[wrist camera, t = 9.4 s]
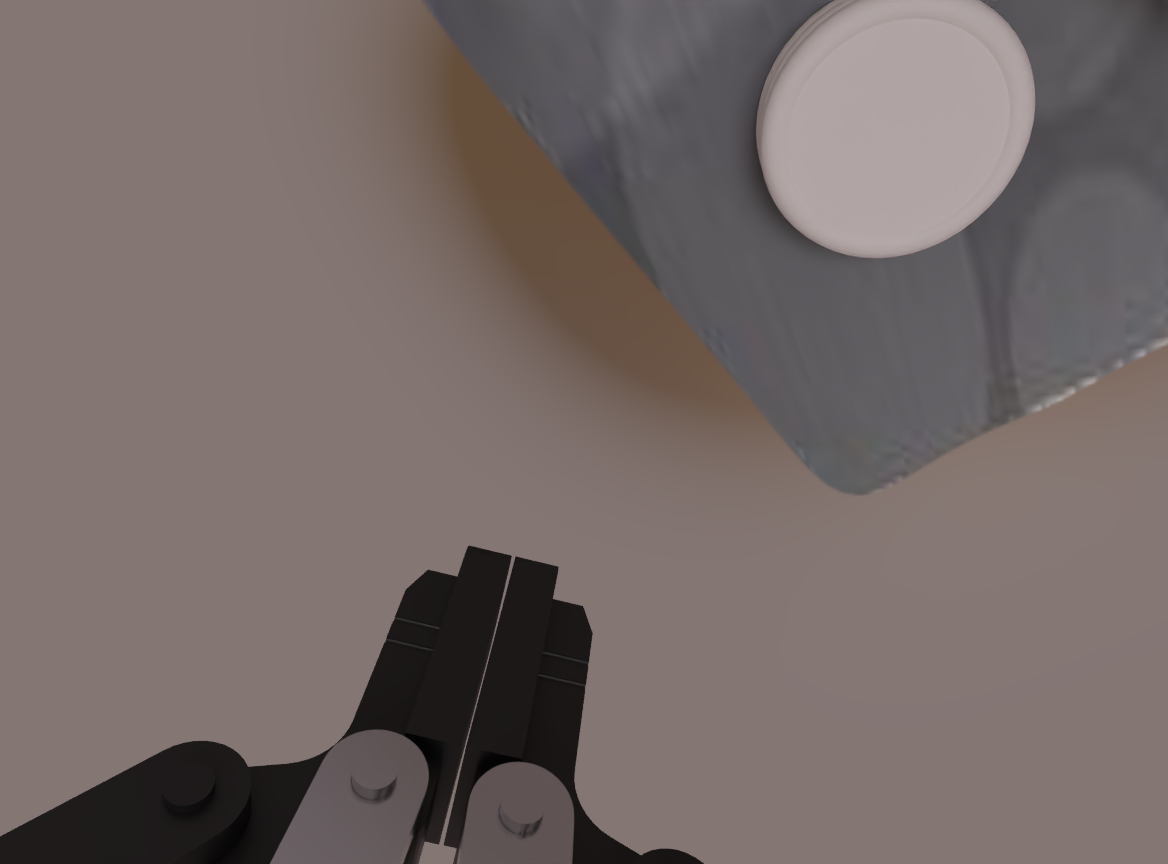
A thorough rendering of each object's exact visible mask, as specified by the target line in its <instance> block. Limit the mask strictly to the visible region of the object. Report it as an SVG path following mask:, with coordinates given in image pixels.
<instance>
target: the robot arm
mask: <svg viewBox="0 0 1168 864" xmlns="http://www.w3.org/2000/svg"><path fill="white" fill-rule="evenodd" d="M511 557H512V556H510V555H506V554H502V553H498V552H493V551H489V550H485V549H481V548H477V547H473V546H468V548H467V550H466V553H465V557H464V559H463V562H462V565H461V568H460V571H459V574H458V577H457V576H452V575H448V574H444V573H440V572H436V571H431V570H427V571H426V572H425V573H424V574H423V575H422V576H421V577H419V578H418V579H417V580H416V581H415V582H414V583H413V584H412V585H411V586H409V587H408V588H407V589H406V591H405V593H404V596H403V598H402V601H401V603H400V606H399V608H398V611H397V613H396V616H395V619H394V621H393V623H392V625H391V628H390V630H389V633H388V635H387V639H386V642H385V643H384V645H383V648H382V650H381V653H380V655H379V658H378V660H377V663H376V665H375V667H374V670H373V672H372V675H371V677H370V680H369V682H368V685H367V687H366V690H365V692H364V695H363V697H362V700H361V702H360V705H359V707H358V710H357V712H356V715H355V717H354V720H353V722H352V724H351V726H350V728H349V729H348V731H347V732H346V734H345V735H344V736H343V737H342V738H341V739H340V740H339V741H338V742H337V743H336V744H335V745H334V746H332V747H331V748H330V749H329V750H327V751H325V752H323V753H322V754H320V755H318V756H316V757H313V758H311V759H308V760H304V761H301V762H296V763H289V764H280V765H279V764H278V765H266V766H254V767H248V766H247V764H246V762H245V760H244V759H243V758H242V757H241V756H240V755H239V754H238V753H237V752H236V751H234V750H233V749H231V748H230V747H227V746H226V745H223V744H219V743H216V742H210V741H192V742H187V743H182V744H179V745H175V746H172V747H171V748H168V749H166V750H164V751H162V752H160V753H158V754H156V755H154V756H152V757H150V758H148V759H146V760H145V761H143V762H141V763H139V764H137V765H135V766H133V767H131V768H129V769H127V770H126V771H124V772H122V773H120V774H118V775H116V776H114V777H112V778H110V779H108V780H107V781H105V782H103V783H101V784H99V785H97V786H95V787H93V788H91V789H90V790H88V791H86V792H84V793H82V794H80V795H78V796H76V797H74V798H72V799H70V800H69V801H67V802H65V803H63V804H61V805H59V806H57V807H55V808H54V809H52V810H50V811H48V812H46V813H44V814H42V815H40V816H38V817H36V818H34V819H33V820H31V821H29V822H27V823H25V824H23V825H21V826H19V827H18V828H15V829H14V830H12V831H10V832H8V833H6V834H4V835H2V836H0V864H418V863H419V860H420V856H421V852H422V849H423V845H424V842H425V841H426V842H430V843H434V844H439V842H440V838H441V835H442V831H443V827H444V823H445V819H446V815H447V812H448V808H449V804H450V800H451V796H452V793H453V789H454V785H455V781H456V777H457V773H458V769H459V766H460V762H461V758H462V754H463V751H464V747H465V743H466V739H467V735H468V732H469V728H470V724H471V720H472V716H473V712H474V708H475V705H476V701H477V697H478V693H479V689H480V686H481V682H482V678H483V674H484V670H485V667H486V663H487V659H488V655H489V651H490V647H491V643H492V639H493V635H494V631H495V627H496V623H497V618H498V614H499V609H500V605H501V601H502V597H503V592H504V588H505V583H506V579H507V575H508V571H509V566H510V562H511ZM557 574H558V567H557V566H553V565H549V564H545V563H540V562H536V561H532V560H528V559H524V558H520V557H516V558H515V561H514V565H513V569H512V572H511V576H510V580H509V584H508V588H507V592H506V596H505V599H504V603H503V607H502V611H501V615H500V618H499V622H498V626H497V630H496V634H495V638H494V642H493V645H492V649H491V653H490V657H489V661H488V665H487V668H486V672H485V676H484V680H483V684H482V688H481V692H480V695H479V699H478V703H477V708H476V711H475V715H474V719H473V722H472V726H471V730H470V734H469V738H468V742H467V745H466V750H465V754H464V759H463V763H462V767H461V772H460V776H459V780H458V785H457V790H456V794H455V798H454V803H453V807H452V811H451V816H450V820H449V824H448V829H447V833H446V837H445V842H444V845H445V846H450V847H454V848H457V850H456V854H455V858H454V862H453V864H704V863H702V862H701V861H699V860H698V859H697V858H695V857H693V856H691V855H689V854H687V853H685V852H682V851H679V850H674V849H657V850H652V851H649V852H647V853H644V854H643V855H639V854H638V853H636V852H634V851H633V850H631V849H629V848H628V847H626V846H624V845H623V844H621V843H619V842H618V841H616V840H614V839H613V838H611V837H610V836H608V835H607V834H605V833H604V832H602V831H601V830H600V829H599V828H598V827H597V826H596V825H595V824H594V823H593V822H592V821H591V820H590V819H589V817H588V816H587V815H586V813H585V811H584V810H583V808H582V806H581V804H580V802H579V800H578V797H577V793H576V790H575V783H574V773H575V764H576V756H577V749H578V741H579V733H580V725H581V718H582V710H583V703H584V695H585V685H586V679H587V672H588V663H589V656H590V648H591V641H592V634H593V633H592V631H591V628H590V625H589V622H588V619H587V616H586V613H585V611H584V608H583V606H580V605H576V604H571V603H567V602H563V601H559V600H555V599H553V595H554V589H555V584H556V579H557Z"/></svg>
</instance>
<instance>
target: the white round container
mask: <svg viewBox="0 0 1168 864" xmlns="http://www.w3.org/2000/svg"><path fill="white" fill-rule="evenodd" d="M1034 112H1035V86H1034V79H1033V74H1032V69H1031V65H1030V62H1029V59H1028V56H1027V53H1026V50H1025V49H1024V47H1023V45H1022V43H1021V41H1020V39H1019V37H1018V36H1017V34H1016V33H1015V32H1014V30H1013V29H1012V28H1011V26H1010V25H1009V24H1008V23H1007V22H1006V21H1005V20H1004V19H1003V18H1002V17H1001V16H1000V15H999V14H998V13H997V12H996V11H995V10H993V9H992V8H991V7H989V6H988V5H986V4H985V3H984V2H982V1H981V0H834V1H832V2H830V3H828V4H827V5H825V6H824V7H823V8H822V9H820V10H819V11H818V12H816V13H815V14H814V15H812V16H811V17H810V18H809V19H808V20H807V21H806V22H805V23H804V24H803V25H802V26H801V27H800V28H799V29H798V30H797V31H796V32H795V33H794V35H793V36H792V37H791V38H790V40H789V41H788V42H787V43H786V45H785V46H784V48H783V49H782V51H781V52H780V54H779V55H778V57H777V59H776V60H775V62H774V64H773V66H772V68H771V70H770V72H769V74H768V76H767V78H766V81H765V84H764V87H763V90H762V93H761V96H760V101H759V106H758V111H757V121H756V142H757V150H758V155H759V160H760V163H761V168H762V171H763V176H764V180H765V182H766V185H767V188H768V191H769V193H770V195H771V197H772V199H773V201H774V203H775V204H776V206H777V208H778V209H779V210H780V212H781V213H782V214H783V216H784V217H785V218H786V219H787V220H788V221H789V222H790V223H791V224H792V226H793V227H794V228H796V229H797V230H798V231H799V232H801V233H802V234H803V235H804V236H806V237H807V238H809V239H810V240H812V241H814V242H815V243H817V244H819V245H821V246H823V247H826V248H828V249H830V250H832V251H835V252H839V253H842V254H845V255H849V256H856V257H862V258H888V257H897V256H902V255H907V254H912V253H915V252H918V251H921V250H924V249H927V248H929V247H932V246H934V245H936V244H938V243H940V242H942V241H945V240H946V239H948V238H950V237H951V236H953V235H955V234H957V233H958V232H960V231H961V230H963V229H964V228H965V227H967V226H968V225H969V224H971V223H972V222H973V221H975V220H976V219H977V218H978V217H979V216H980V215H981V214H982V213H983V212H984V211H985V210H986V209H988V208H989V207H990V206H991V204H992V203H993V202H994V201H995V200H996V199H997V197H998V196H999V195H1000V194H1001V193H1002V192H1003V190H1004V189H1005V187H1006V186H1007V184H1008V183H1009V181H1010V180H1011V178H1012V177H1013V175H1014V173H1015V172H1016V170H1017V168H1018V166H1019V164H1020V162H1021V160H1022V158H1023V155H1024V153H1025V150H1026V147H1027V145H1028V142H1029V139H1030V134H1031V130H1032V126H1033V122H1034Z"/></svg>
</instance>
